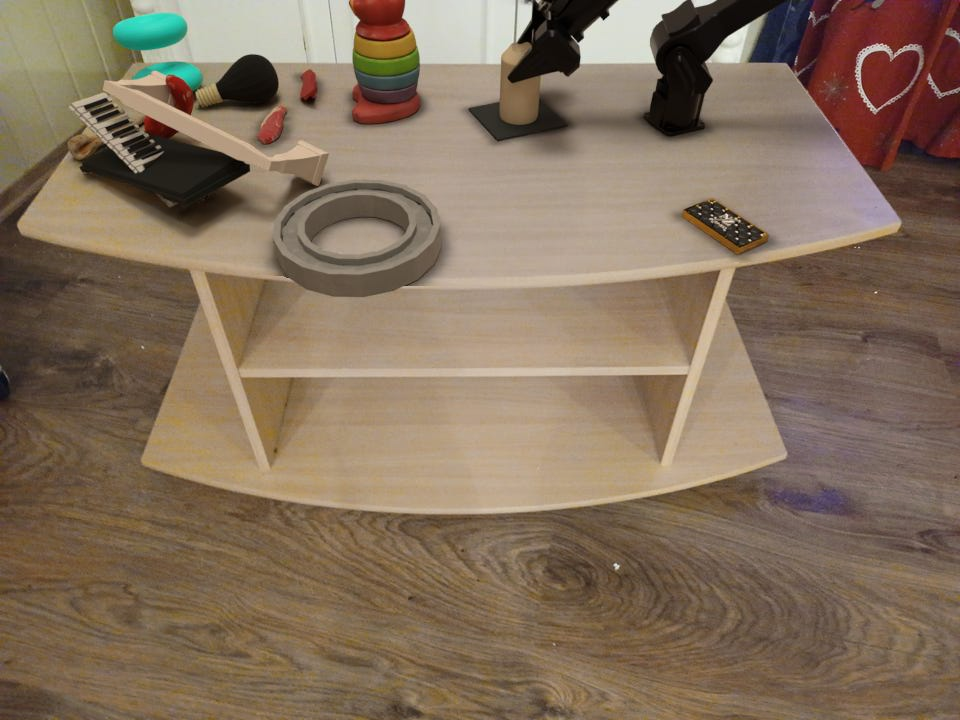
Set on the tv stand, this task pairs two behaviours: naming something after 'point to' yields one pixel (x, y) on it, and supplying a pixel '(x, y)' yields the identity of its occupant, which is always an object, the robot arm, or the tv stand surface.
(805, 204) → the tv stand surface
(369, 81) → the stacking bear
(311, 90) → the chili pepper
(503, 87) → the candle
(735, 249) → the black flat block
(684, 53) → the robot arm
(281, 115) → the steak
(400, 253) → the mechanical component
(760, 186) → the tv stand surface
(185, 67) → the donuts
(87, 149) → the brown bone
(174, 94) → the vegetable
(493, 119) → the mat
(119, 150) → the synthesizer keyboard
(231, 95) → the light bulb
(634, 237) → the tv stand surface
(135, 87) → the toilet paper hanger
